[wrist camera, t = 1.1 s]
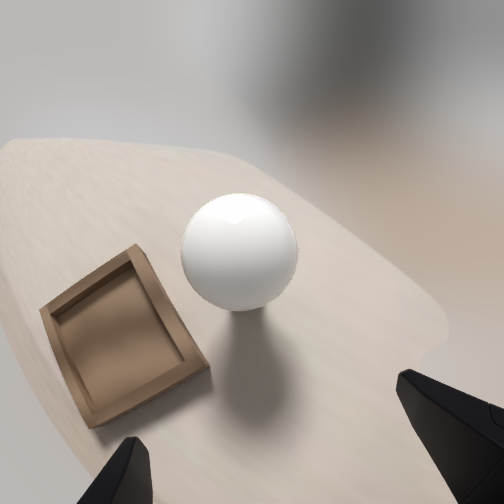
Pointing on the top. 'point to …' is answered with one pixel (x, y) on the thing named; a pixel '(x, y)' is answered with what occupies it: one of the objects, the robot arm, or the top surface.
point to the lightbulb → (239, 252)
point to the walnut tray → (119, 339)
